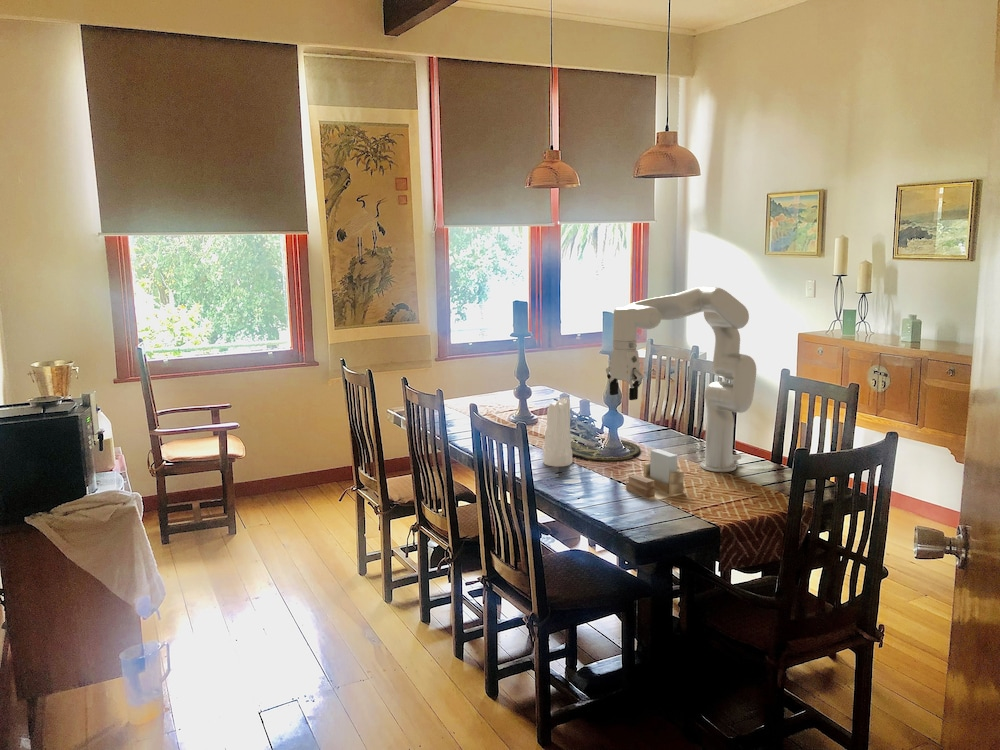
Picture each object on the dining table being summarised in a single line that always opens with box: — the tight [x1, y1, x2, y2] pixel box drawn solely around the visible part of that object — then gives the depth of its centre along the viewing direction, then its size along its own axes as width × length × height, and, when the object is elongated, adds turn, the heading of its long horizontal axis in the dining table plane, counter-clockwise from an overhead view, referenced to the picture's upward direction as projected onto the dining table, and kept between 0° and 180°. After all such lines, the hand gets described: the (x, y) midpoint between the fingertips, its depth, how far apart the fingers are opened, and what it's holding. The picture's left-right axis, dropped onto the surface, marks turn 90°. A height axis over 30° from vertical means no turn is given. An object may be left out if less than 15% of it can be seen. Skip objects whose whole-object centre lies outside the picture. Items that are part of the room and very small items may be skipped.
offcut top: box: [628, 474, 654, 490], centre depth 252 cm, size 4×8×2 cm, turn 34°
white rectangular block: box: [649, 448, 679, 484], centre depth 257 cm, size 4×9×12 cm, turn 30°
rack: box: [620, 462, 688, 502], centre depth 255 cm, size 15×16×8 cm
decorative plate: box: [571, 437, 642, 463], centre depth 307 cm, size 30×2×30 cm
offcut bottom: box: [625, 481, 655, 499], centre depth 253 cm, size 4×10×2 cm, turn 30°
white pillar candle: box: [542, 396, 573, 468], centre depth 290 cm, size 11×11×25 cm
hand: (623, 397), depth 256 cm, fingers open, 9 cm apart
